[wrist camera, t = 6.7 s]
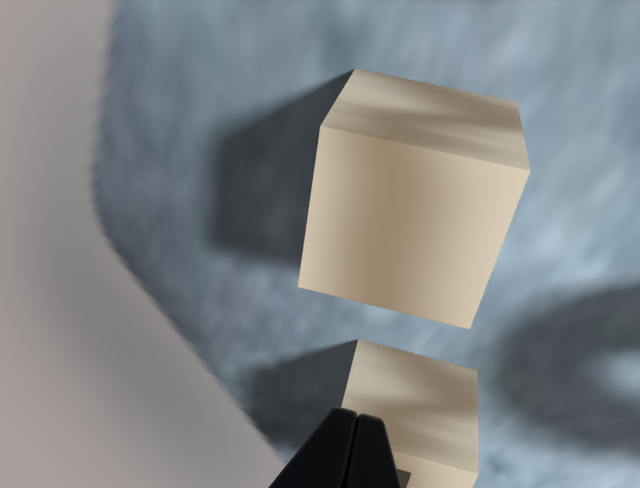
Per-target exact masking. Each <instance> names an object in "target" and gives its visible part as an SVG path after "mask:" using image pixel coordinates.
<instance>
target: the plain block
mask: <svg viewBox="0 0 640 488" xmlns="http://www.w3.org/2000/svg"><path fill="white" fill-rule="evenodd" d="M529 173H530V166H529V161H528V156H527V151H526V146H525V141H524V136H523V131H522V125H521V120H520V115H519V110H518V105H517V101H512V100H507V99H502V98H497V97H492V96H487V95H482V94H477V93H472V92H467V91H462V90H458V89H453V88H448V87H443V86H438V85H433V84H428V83H423V82H418V81H413V80H408V79H403V78H398V77H393V76H388V75H384V74H379V73H374V72H369V71H364V70H359V69H355V70H354V71H353V73H352V75H351V76H350V78H349V80H348V81H347V83H346V85H345V86H344V88H343V90H342V91H341V93H340V94H339V96H338V98H337V99H336V101H335V103H334V104H333V106H332V108H331V109H330V111H329V113H328V114H327V116H326V117H325V119H324V121H323V122H322V124H321V126H320V132H319V139H318V147H317V154H316V161H315V168H314V175H313V182H312V190H311V197H310V204H309V211H308V218H307V225H306V233H305V240H304V247H303V254H302V261H301V268H300V276H299V283H298V287H301V288H305V289H309V290H313V291H317V292H321V293H325V294H329V295H333V296H337V297H341V298H345V299H349V300H353V301H357V302H361V303H365V304H369V305H373V306H377V307H381V308H385V309H389V310H393V311H397V312H401V313H405V314H409V315H413V316H417V317H421V318H425V319H429V320H434V321H438V322H442V323H446V324H450V325H454V326H458V327H462V328H466V329H470V328H471V325H472V322H473V320H474V317H475V315H476V312H477V309H478V307H479V304H480V301H481V299H482V296H483V294H484V291H485V288H486V286H487V283H488V281H489V278H490V275H491V273H492V270H493V267H494V265H495V262H496V260H497V257H498V254H499V252H500V249H501V247H502V244H503V241H504V239H505V236H506V233H507V231H508V228H509V226H510V223H511V220H512V218H513V215H514V213H515V210H516V207H517V205H518V202H519V200H520V197H521V194H522V192H523V189H524V186H525V184H526V181H527V179H528V176H529Z"/></svg>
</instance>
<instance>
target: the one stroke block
mask: <svg viewBox="0 0 640 488" xmlns="http://www.w3.org/2000/svg"><path fill="white" fill-rule="evenodd" d="M341 407H342V408H346V409H350V410H353V411H355V412H356V413H357V414H358V415H359V414H361V413H364V414H368V415H372V416H376V417H379V418H381V419H382V420H383V421H384V423H385V427H386V431H387V434H388V438H389V442H390V446H391V450H392V453H393V457H394V461H395V465H396V469H397V473H398V476H399V480H400V484H401V488H472V487H473V485H474V483H475V481H476V479H477V477H478V475H479V464H478V370H476V369H472V368H468V367H465V366H461V365H457V364H453V363H449V362H445V361H441V360H437V359H434V358H430V357H426V356H422V355H418V354H414V353H410V352H407V351H403V350H399V349H395V348H391V347H387V346H383V345H379V344H376V343H372V342H368V341H364V340H360V339H358V342H357V346H356V350H355V354H354V358H353V362H352V366H351V370H350V374H349V378H348V382H347V386H346V390H345V394H344V398H343V402H342V406H341Z"/></svg>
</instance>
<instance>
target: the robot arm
mask: <svg viewBox="0 0 640 488" xmlns="http://www.w3.org/2000/svg"><path fill="white" fill-rule="evenodd" d="M269 488H401V484H400V480H399V476H398V473H397V469H396V465H395V461H394V457H393V453H392V450H391V446H390V442H389V438H388V434H387V431H386V427H385V423H384V421H383V420H382V419H381V418H379V417H376V416H372V415H368V414H364V413H361V414H359V415H358V414H357V413H356V412H355V411H353V410H350V409H346V408H342V407H339V406H336V407H334V408H333V409H332V410H331V411H330V412H329V413H328V414H327V416H326V417H325V418H324V419H323V421H322V422H321V423H320V424H319V426H318V427H317V428H316V429H315V431H314V432H313V433H312V434H311V435H310V437H309V438H308V439H307V440H306V442H305V443H304V444H303V445H302V447H301V448H300V449H299V450H298V452H297V453H296V454H295V455H294V457H293V458H292V459H291V460H290V462H289V463H288V464H287V465H286V466H285V468H284V469H283V470H282V471H281V473H280V474H279V475H278V476H277V478H276V479H275V480H274V481H273V483H272V484H271V485H270V486H269Z"/></svg>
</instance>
